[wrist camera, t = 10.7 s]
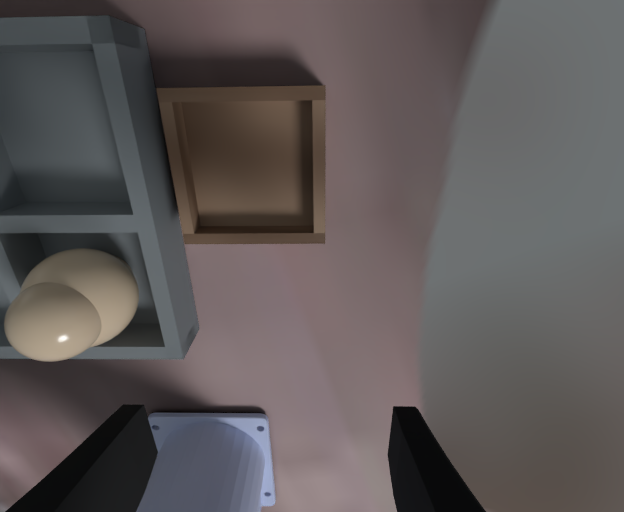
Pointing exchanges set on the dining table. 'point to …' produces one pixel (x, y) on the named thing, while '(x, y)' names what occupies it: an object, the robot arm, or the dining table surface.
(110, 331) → the brown egg
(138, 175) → the egg tray
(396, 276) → the dining table surface
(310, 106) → the brown square tray
